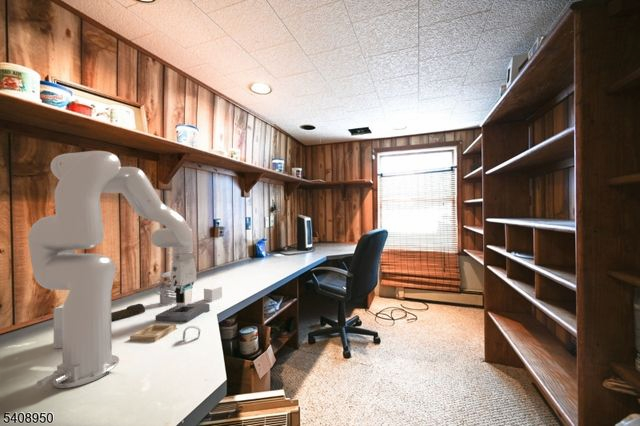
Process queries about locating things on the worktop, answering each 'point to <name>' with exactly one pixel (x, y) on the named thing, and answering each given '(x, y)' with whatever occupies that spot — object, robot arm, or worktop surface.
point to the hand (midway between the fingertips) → (184, 300)
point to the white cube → (212, 293)
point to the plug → (186, 295)
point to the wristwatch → (190, 327)
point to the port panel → (182, 313)
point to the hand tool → (128, 311)
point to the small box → (58, 327)
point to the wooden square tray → (153, 332)
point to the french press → (166, 299)
